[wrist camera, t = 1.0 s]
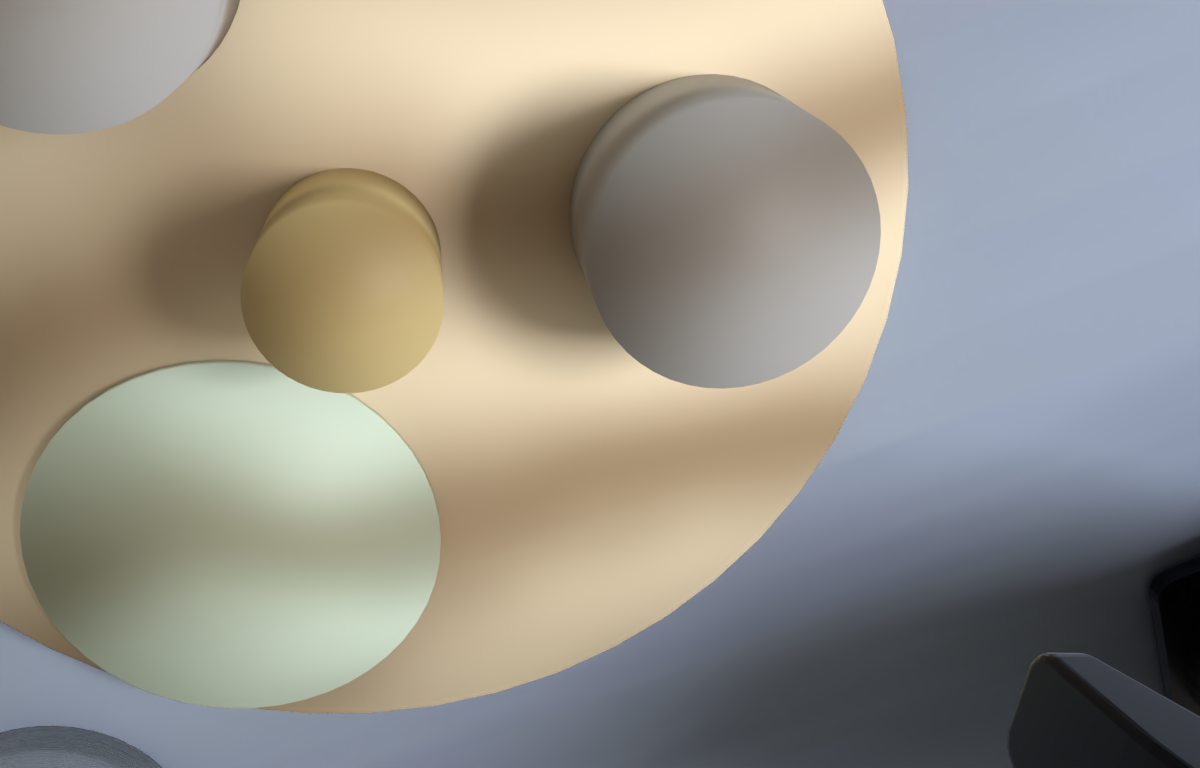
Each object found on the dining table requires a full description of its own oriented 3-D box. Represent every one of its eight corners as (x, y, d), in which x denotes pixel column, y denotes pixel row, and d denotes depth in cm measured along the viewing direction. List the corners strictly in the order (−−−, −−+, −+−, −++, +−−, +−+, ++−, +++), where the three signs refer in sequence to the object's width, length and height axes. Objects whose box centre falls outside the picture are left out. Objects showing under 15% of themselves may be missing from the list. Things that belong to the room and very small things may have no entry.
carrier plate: (983, 483, 25) (1057, 564, 22) (129, 814, 26) (91, 937, 23) (712, -670, 16) (777, -790, 13) (-608, -127, 17) (-830, -126, 14)
